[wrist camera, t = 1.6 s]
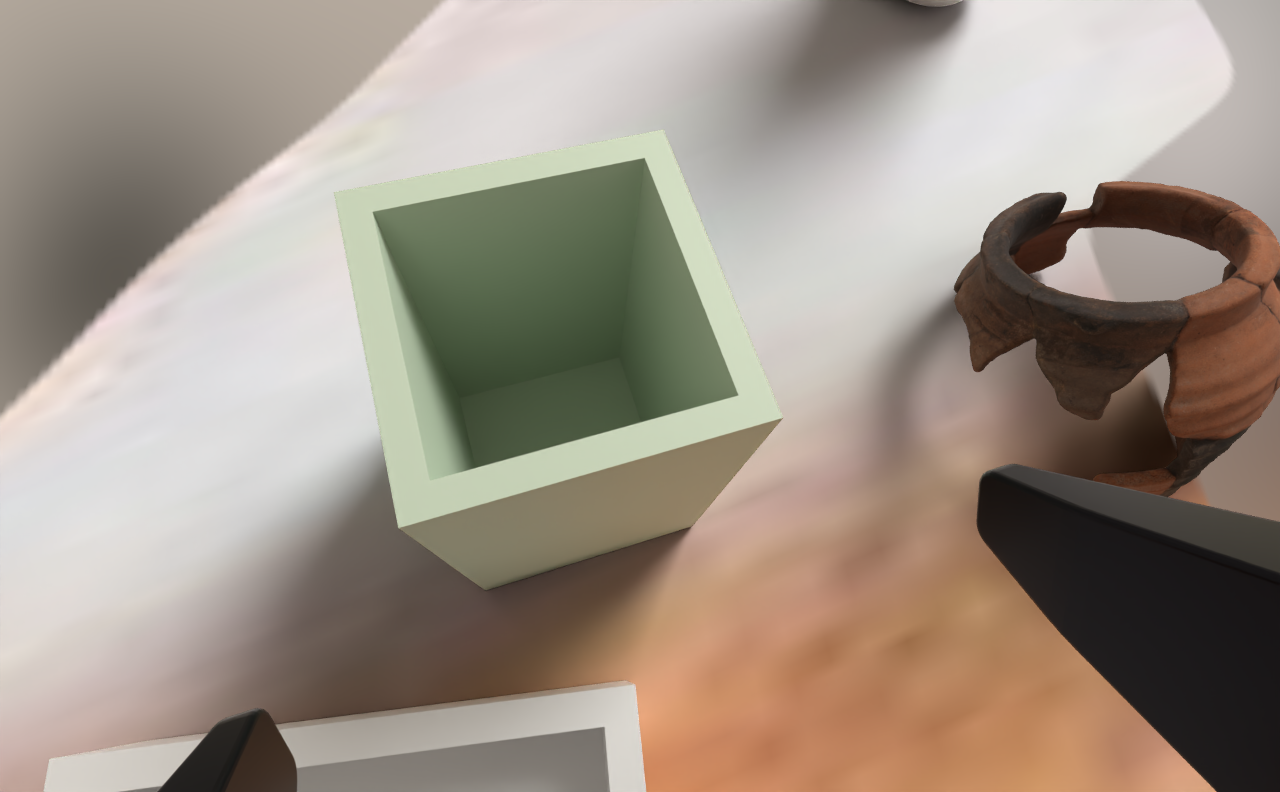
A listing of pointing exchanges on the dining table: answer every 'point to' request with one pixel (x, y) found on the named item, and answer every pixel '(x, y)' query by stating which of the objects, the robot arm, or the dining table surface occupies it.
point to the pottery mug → (1137, 317)
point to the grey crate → (422, 748)
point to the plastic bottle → (935, 2)
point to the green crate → (550, 355)
